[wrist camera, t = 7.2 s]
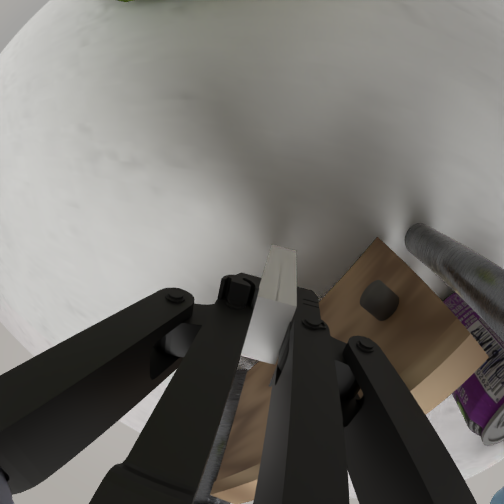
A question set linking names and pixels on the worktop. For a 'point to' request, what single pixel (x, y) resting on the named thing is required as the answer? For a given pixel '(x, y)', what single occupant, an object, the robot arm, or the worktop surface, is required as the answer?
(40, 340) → the worktop surface
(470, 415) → the beverage can
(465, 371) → the gate
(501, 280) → the post
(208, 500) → the hinge post
